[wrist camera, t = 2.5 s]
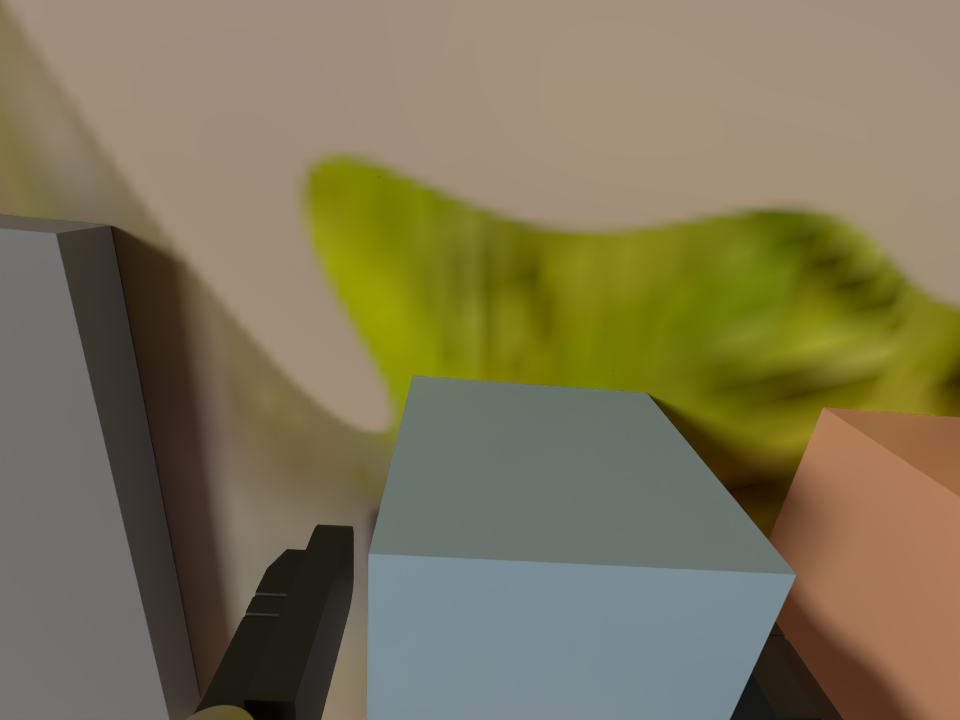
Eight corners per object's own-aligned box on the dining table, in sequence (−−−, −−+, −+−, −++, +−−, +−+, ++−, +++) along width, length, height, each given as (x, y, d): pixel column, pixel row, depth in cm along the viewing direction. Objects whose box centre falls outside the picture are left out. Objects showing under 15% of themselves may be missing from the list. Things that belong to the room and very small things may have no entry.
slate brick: (644, 389, 10) (795, 574, 6) (579, 646, 13) (643, 906, 8) (413, 372, 10) (368, 553, 5) (400, 639, 13) (364, 905, 8)
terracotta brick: (1025, 419, 11) (1451, 609, 6) (880, 659, 14) (1093, 908, 9) (818, 403, 10) (1101, 590, 6) (716, 652, 13) (850, 907, 9)
